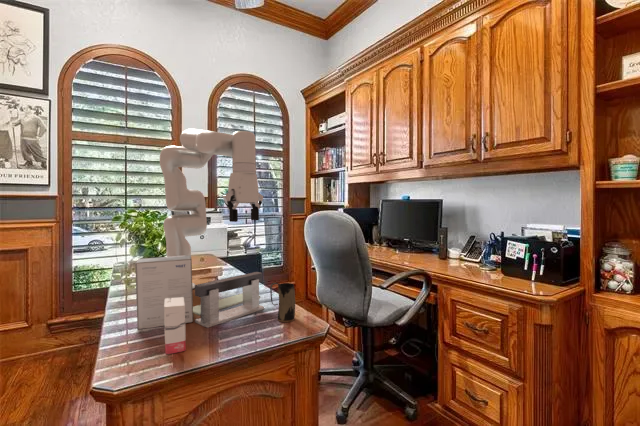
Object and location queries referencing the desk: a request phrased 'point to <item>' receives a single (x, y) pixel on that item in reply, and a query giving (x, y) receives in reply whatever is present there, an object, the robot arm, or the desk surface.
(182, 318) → the ink box
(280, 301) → the mug
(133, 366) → the desk surface
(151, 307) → the hard drive box
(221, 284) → the rail
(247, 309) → the rack
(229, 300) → the mat
